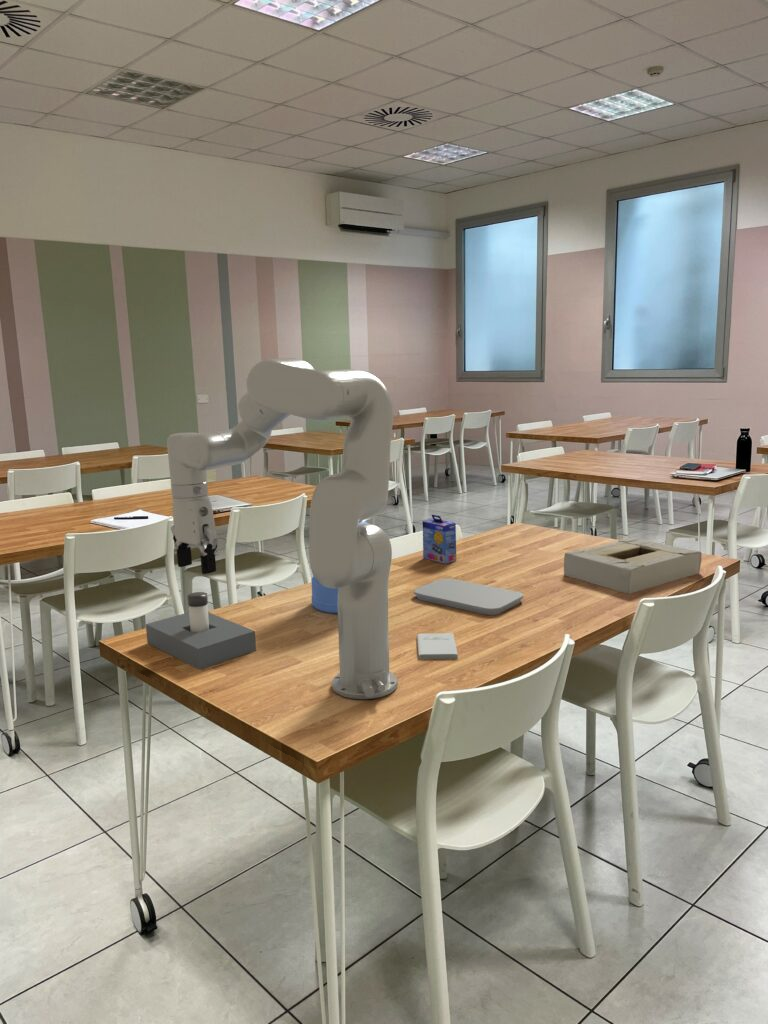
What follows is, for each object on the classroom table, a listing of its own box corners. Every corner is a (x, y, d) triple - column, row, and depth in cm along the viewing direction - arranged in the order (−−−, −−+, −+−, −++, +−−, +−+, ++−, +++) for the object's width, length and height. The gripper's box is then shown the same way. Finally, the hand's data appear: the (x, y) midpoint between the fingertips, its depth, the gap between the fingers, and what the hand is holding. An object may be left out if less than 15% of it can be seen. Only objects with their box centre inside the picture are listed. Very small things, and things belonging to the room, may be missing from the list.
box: (630, 597, 198) (701, 574, 216) (631, 568, 197) (702, 548, 214) (562, 578, 217) (632, 559, 235) (562, 552, 215) (633, 535, 233)
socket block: (256, 650, 165) (254, 630, 164) (199, 669, 155) (198, 648, 154) (201, 627, 180) (200, 609, 179) (147, 643, 170) (145, 624, 170)
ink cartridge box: (421, 558, 238) (421, 513, 235) (434, 555, 242) (433, 510, 239) (444, 564, 231) (444, 517, 228) (457, 560, 234) (457, 515, 232)
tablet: (444, 584, 211) (444, 577, 211) (527, 601, 195) (527, 593, 195) (409, 599, 199) (409, 591, 198) (494, 619, 183) (494, 610, 182)
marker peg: (211, 649, 166) (207, 596, 164) (191, 651, 165) (187, 598, 163) (210, 642, 170) (206, 591, 168) (191, 644, 169) (187, 593, 167)
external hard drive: (418, 661, 159) (417, 639, 171) (458, 661, 158) (453, 639, 171) (418, 654, 158) (417, 632, 170) (457, 653, 158) (453, 632, 170)
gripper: (227, 492, 157) (234, 571, 160) (184, 485, 169) (191, 559, 172) (195, 497, 152) (203, 579, 155) (153, 490, 164) (161, 566, 167)
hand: (196, 569), depth 164 cm, fingers open, 9 cm apart
